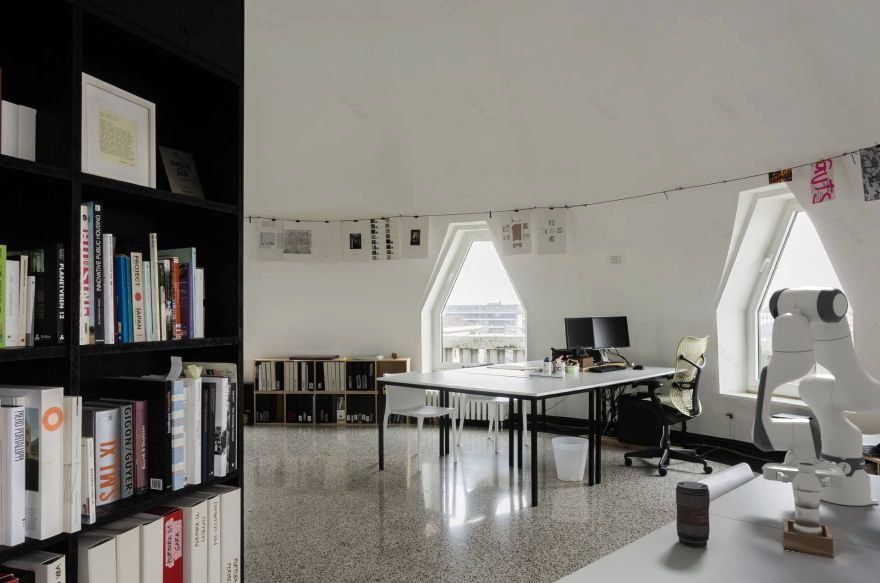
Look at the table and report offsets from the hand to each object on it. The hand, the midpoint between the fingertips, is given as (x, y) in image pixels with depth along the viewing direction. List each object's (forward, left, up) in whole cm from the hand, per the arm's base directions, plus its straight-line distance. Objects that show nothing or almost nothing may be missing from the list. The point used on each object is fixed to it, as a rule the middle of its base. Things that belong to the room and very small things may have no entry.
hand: (804, 481), depth 174 cm
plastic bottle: (+12, 0, -13) cm, 18 cm away
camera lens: (+23, -26, -14) cm, 37 cm away
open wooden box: (+12, 0, -13) cm, 18 cm away
